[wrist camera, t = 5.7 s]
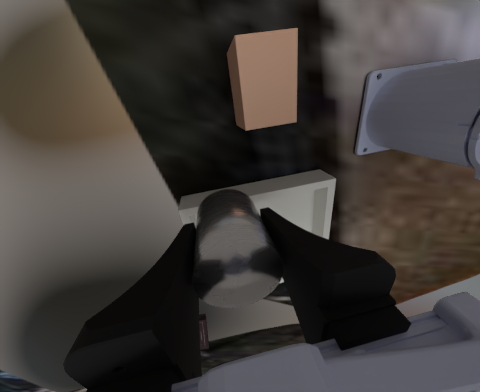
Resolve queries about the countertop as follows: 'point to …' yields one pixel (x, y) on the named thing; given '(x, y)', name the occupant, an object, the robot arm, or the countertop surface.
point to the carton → (264, 78)
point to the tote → (282, 200)
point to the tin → (233, 252)
